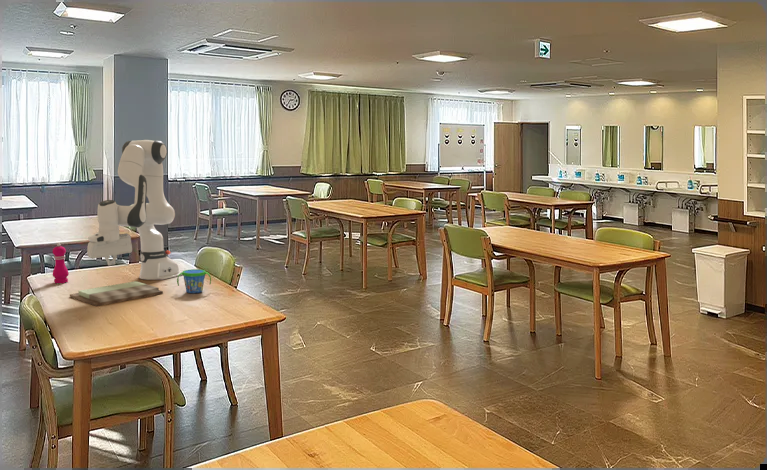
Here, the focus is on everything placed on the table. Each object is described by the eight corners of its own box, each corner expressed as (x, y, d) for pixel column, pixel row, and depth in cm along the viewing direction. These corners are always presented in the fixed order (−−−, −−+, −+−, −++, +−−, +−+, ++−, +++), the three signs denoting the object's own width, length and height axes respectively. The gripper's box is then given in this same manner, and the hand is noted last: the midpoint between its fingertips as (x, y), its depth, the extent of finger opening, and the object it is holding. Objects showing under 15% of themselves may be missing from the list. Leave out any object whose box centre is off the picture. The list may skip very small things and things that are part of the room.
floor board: (135, 285, 323) (134, 279, 323) (162, 293, 307) (162, 287, 307) (69, 296, 299) (69, 290, 299) (96, 306, 283) (95, 298, 283)
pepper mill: (72, 281, 332) (69, 242, 329) (63, 284, 325) (61, 244, 322) (58, 280, 333) (56, 241, 330) (50, 283, 326) (47, 244, 323)
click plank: (136, 285, 319) (135, 281, 318) (146, 288, 312) (146, 284, 312) (78, 294, 297) (78, 290, 297) (89, 298, 291) (88, 294, 291)
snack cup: (212, 289, 317) (212, 268, 316) (210, 294, 307) (209, 273, 306) (179, 290, 315) (178, 269, 314) (175, 295, 305) (174, 273, 304)
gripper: (127, 232, 312) (128, 260, 314) (84, 237, 297) (86, 267, 299) (133, 233, 308) (135, 262, 310) (91, 239, 293) (93, 269, 295)
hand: (111, 264), depth 305 cm, fingers closed
